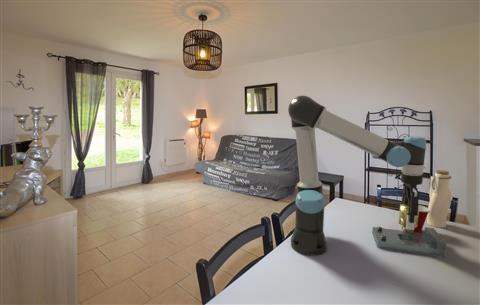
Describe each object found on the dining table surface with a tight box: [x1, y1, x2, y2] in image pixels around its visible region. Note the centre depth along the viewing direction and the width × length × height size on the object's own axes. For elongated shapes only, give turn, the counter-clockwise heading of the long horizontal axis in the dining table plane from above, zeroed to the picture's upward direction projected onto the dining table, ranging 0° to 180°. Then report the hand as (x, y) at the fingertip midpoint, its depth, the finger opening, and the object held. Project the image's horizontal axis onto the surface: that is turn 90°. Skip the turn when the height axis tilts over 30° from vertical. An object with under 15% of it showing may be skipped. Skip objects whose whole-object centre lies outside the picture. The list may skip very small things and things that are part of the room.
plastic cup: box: [412, 204, 430, 233], centre depth 124 cm, size 11×11×12 cm
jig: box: [371, 226, 447, 258], centre depth 111 cm, size 24×14×6 cm, turn 71°
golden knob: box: [398, 204, 419, 232], centre depth 109 cm, size 7×7×10 cm
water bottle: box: [426, 169, 452, 228], centre depth 128 cm, size 10×9×28 cm
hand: (407, 225), depth 110 cm, fingers closed on golden knob, 7 cm apart
